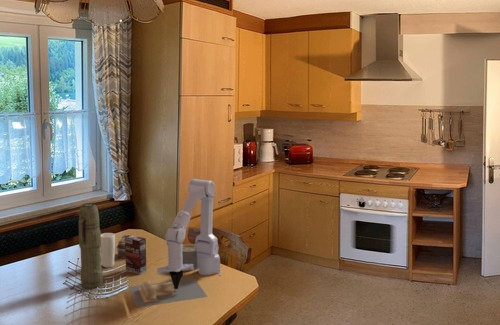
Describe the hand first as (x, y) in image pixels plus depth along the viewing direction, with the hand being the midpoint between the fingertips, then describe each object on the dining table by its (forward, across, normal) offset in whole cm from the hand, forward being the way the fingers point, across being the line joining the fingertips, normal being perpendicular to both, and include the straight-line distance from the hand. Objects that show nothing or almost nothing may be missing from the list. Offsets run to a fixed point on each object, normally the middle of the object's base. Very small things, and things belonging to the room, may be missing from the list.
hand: (175, 288), depth 208 cm
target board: (+2, -4, 0) cm, 4 cm away
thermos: (+2, -32, +20) cm, 37 cm away
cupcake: (+2, -12, +51) cm, 53 cm away
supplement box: (+2, -11, +29) cm, 31 cm away
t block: (+1, -7, 0) cm, 7 cm away
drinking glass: (+2, -22, +40) cm, 46 cm away
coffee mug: (+2, +10, +25) cm, 27 cm away
